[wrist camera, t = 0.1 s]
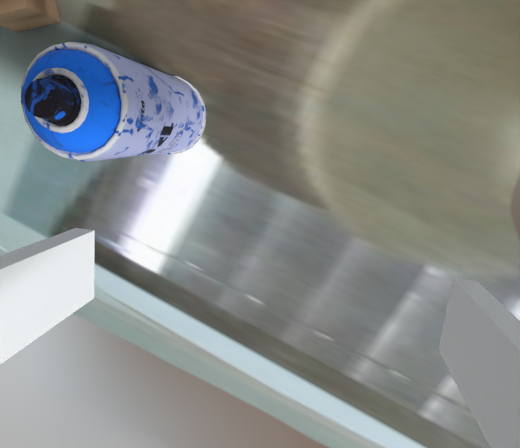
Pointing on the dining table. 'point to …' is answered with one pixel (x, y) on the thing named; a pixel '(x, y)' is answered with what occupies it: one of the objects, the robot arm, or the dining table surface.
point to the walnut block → (28, 14)
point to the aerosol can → (107, 105)
